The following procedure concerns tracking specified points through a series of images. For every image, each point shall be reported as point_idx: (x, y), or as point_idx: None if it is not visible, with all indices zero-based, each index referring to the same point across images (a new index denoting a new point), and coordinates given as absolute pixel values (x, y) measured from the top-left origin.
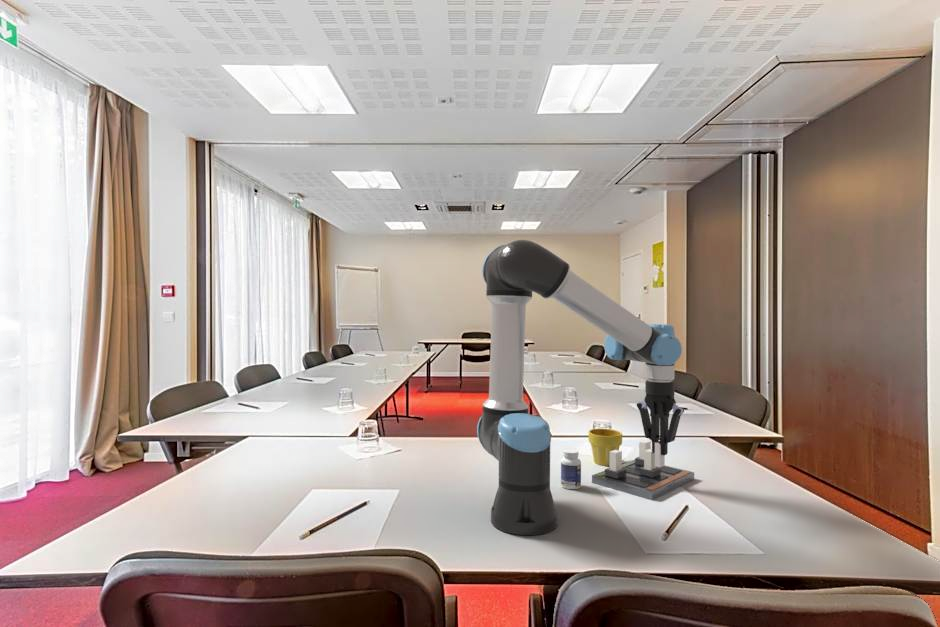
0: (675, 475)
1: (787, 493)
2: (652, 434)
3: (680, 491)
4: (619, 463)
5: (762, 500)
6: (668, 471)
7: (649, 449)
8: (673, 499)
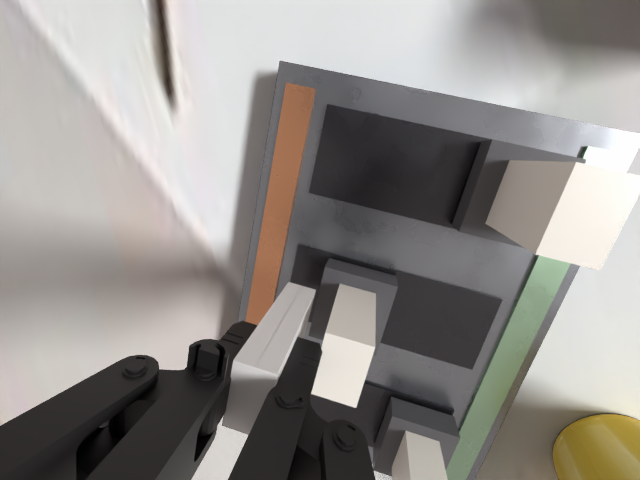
0: None
1: (13, 384)
2: (279, 445)
3: (234, 245)
4: (509, 205)
5: (32, 295)
6: None
7: (352, 394)
8: (227, 138)
